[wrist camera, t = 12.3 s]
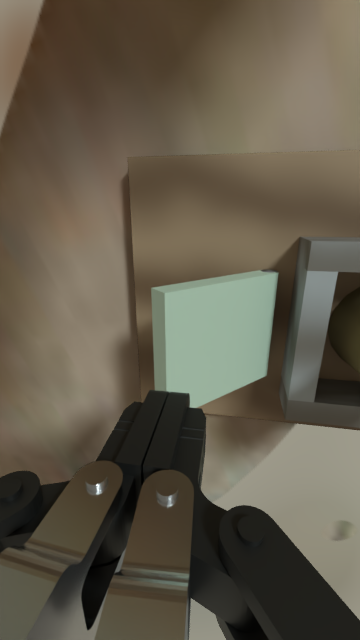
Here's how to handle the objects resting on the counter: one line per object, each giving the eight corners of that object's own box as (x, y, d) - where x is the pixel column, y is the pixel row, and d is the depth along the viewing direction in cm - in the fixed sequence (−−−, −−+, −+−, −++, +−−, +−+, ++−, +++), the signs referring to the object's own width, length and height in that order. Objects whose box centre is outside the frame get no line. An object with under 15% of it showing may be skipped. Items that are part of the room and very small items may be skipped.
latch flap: (151, 287, 14) (164, 293, 13) (267, 268, 19) (283, 271, 18) (155, 409, 17) (166, 421, 16) (257, 366, 21) (271, 373, 20)
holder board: (135, 161, 19) (107, 147, 15) (601, 147, 15) (739, 123, 11) (146, 395, 26) (129, 431, 21) (479, 430, 21) (538, 482, 17)
